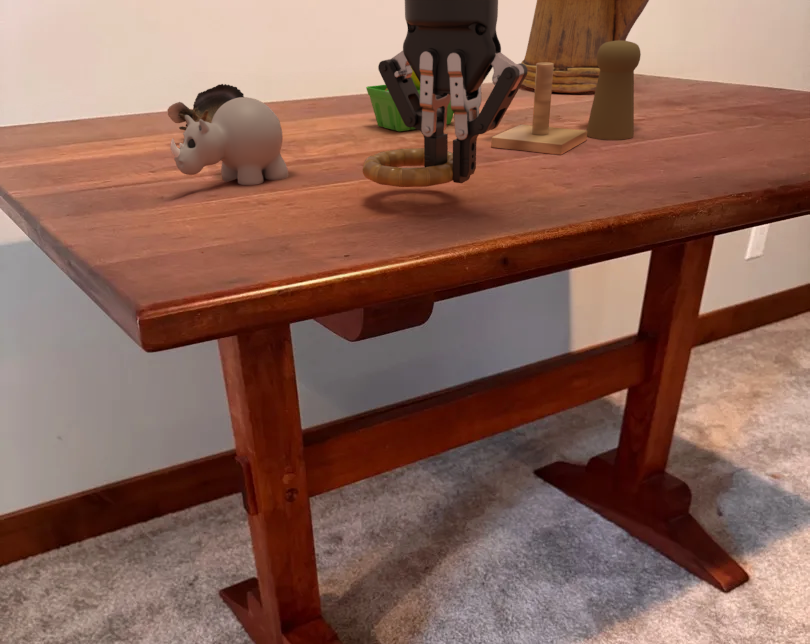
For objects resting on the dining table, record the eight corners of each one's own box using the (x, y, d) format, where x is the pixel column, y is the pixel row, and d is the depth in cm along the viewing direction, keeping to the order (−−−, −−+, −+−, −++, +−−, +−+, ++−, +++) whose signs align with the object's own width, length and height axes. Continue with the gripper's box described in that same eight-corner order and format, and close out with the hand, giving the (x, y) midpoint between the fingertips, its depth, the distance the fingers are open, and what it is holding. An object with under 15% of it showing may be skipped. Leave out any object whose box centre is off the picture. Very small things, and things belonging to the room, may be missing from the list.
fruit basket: (430, 116, 115) (430, 30, 109) (470, 125, 109) (472, 34, 103) (364, 126, 109) (361, 35, 103) (402, 136, 103) (401, 41, 97)
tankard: (555, 75, 149) (568, -81, 136) (672, 88, 135) (698, -86, 122) (496, 87, 138) (504, -83, 125) (617, 102, 124) (639, -88, 111)
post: (586, 140, 100) (594, 60, 95) (561, 154, 93) (568, 70, 88) (519, 133, 104) (524, 57, 99) (490, 147, 97) (494, 65, 92)
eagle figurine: (229, 139, 97) (261, 112, 103) (189, 88, 94) (224, 63, 101) (191, 169, 101) (224, 141, 108) (152, 120, 99) (188, 95, 105)
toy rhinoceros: (162, 191, 81) (147, 103, 77) (264, 172, 88) (256, 89, 83) (194, 206, 76) (180, 113, 72) (300, 184, 83) (293, 97, 78)
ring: (480, 169, 74) (481, 151, 74) (434, 193, 68) (434, 174, 67) (396, 160, 78) (395, 143, 78) (344, 182, 72) (342, 163, 71)
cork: (585, 139, 100) (595, 43, 95) (585, 129, 105) (594, 38, 100) (635, 140, 99) (647, 44, 94) (632, 130, 105) (644, 38, 99)
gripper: (352, -41, 63) (362, 181, 72) (513, -43, 57) (503, 199, 65) (400, -43, 68) (404, 163, 77) (551, -46, 62) (538, 178, 71)
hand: (450, 178), depth 71 cm, fingers closed on ring, 2 cm apart
